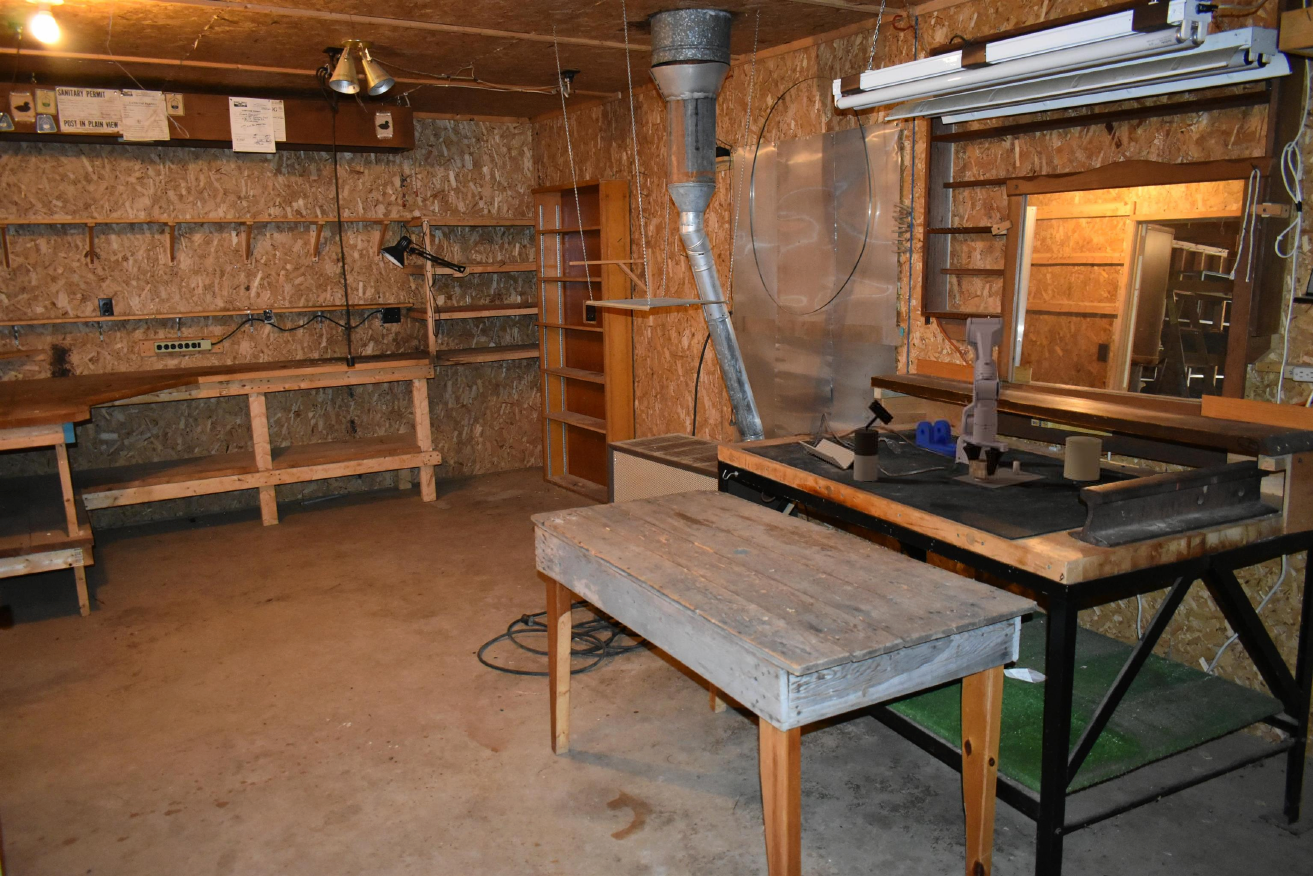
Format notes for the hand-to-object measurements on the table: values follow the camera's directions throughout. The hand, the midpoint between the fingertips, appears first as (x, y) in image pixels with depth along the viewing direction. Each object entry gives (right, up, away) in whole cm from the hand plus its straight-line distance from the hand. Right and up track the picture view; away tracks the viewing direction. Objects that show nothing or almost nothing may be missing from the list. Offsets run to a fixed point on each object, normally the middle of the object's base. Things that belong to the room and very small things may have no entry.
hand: (982, 473), depth 251 cm
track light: (-28, -2, +10) cm, 29 cm away
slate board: (+6, -2, +4) cm, 8 cm away
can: (+29, -2, +3) cm, 29 cm away
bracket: (+3, +5, +45) cm, 45 cm away
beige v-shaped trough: (-34, +2, +34) cm, 48 cm away
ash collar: (0, -1, 0) cm, 1 cm away
